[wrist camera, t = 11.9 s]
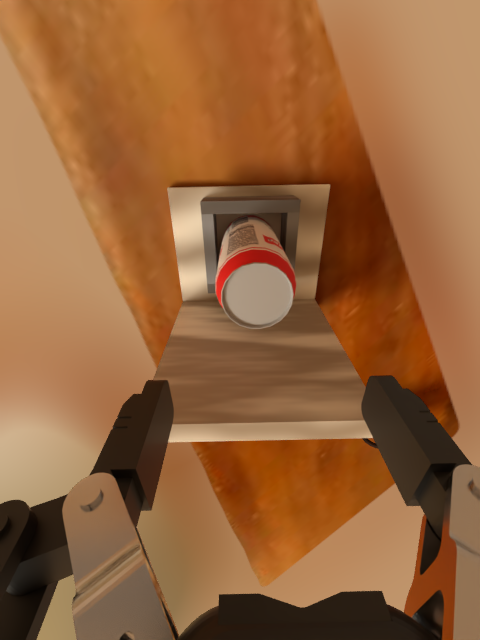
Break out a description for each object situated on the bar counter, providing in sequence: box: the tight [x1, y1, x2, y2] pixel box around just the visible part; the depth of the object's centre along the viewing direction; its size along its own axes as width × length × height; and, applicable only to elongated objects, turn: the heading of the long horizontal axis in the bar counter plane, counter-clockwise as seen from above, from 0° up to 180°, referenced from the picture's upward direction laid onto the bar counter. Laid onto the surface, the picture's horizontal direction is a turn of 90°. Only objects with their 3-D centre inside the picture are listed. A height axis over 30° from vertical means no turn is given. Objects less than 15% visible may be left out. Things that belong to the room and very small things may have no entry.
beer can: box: [215, 215, 296, 329], centre depth 26 cm, size 6×6×16 cm
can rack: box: [153, 184, 373, 442], centre depth 26 cm, size 16×18×21 cm
